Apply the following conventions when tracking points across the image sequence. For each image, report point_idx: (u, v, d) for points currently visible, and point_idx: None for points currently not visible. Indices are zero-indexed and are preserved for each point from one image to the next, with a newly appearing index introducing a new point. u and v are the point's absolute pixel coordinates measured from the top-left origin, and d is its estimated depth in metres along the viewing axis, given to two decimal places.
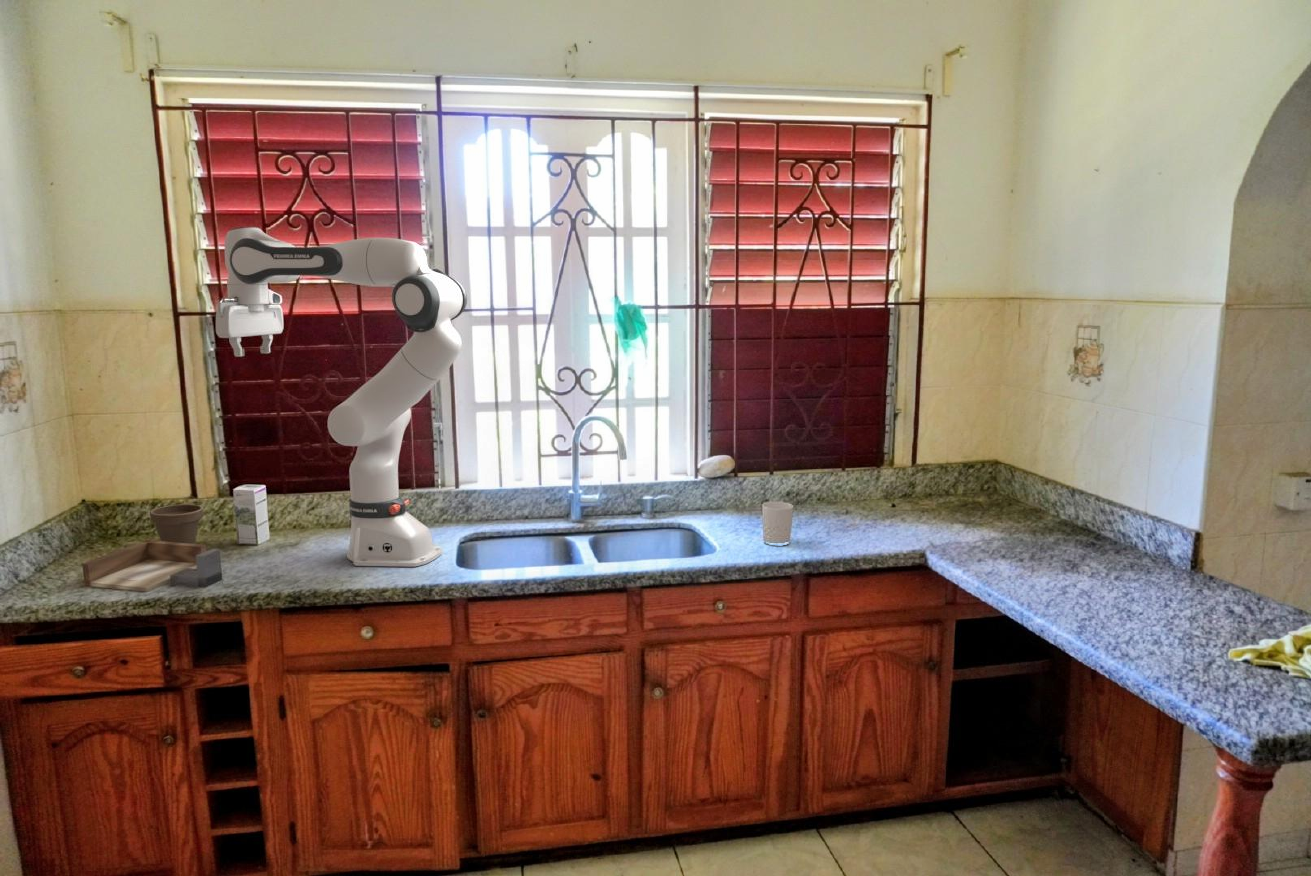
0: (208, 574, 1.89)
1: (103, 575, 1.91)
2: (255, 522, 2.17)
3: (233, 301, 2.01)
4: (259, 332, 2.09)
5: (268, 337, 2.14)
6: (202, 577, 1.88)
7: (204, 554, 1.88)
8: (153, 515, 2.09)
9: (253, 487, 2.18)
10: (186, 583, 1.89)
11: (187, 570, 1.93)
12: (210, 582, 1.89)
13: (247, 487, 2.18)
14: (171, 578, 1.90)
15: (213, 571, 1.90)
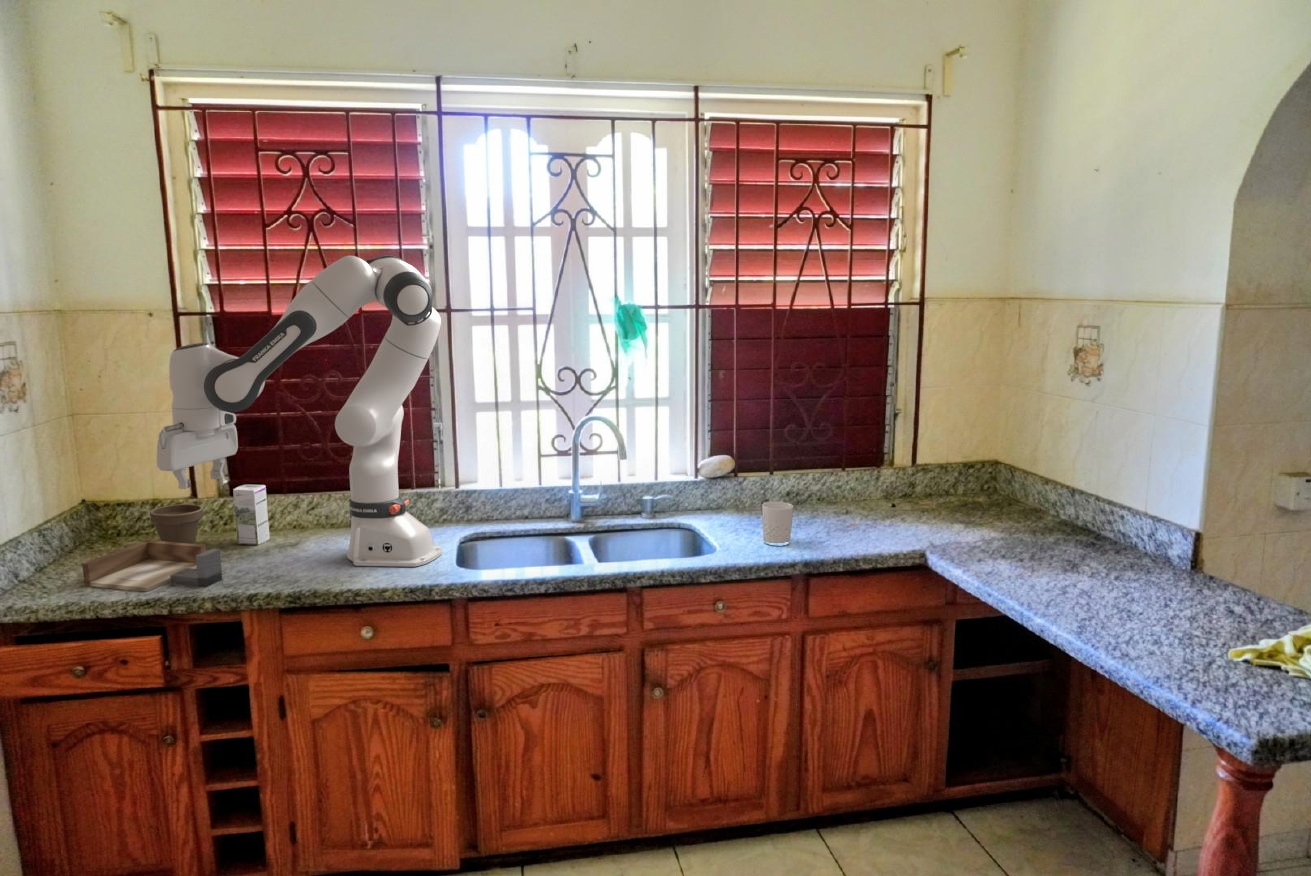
0: (208, 574, 1.89)
1: (103, 575, 1.91)
2: (255, 522, 2.17)
3: (177, 428, 1.79)
4: (208, 458, 1.86)
5: (219, 461, 1.91)
6: (202, 577, 1.88)
7: (204, 554, 1.88)
8: (153, 515, 2.09)
9: (253, 487, 2.18)
10: (186, 583, 1.89)
11: (187, 570, 1.93)
12: (210, 582, 1.89)
13: (247, 487, 2.18)
14: (171, 578, 1.90)
15: (213, 571, 1.90)
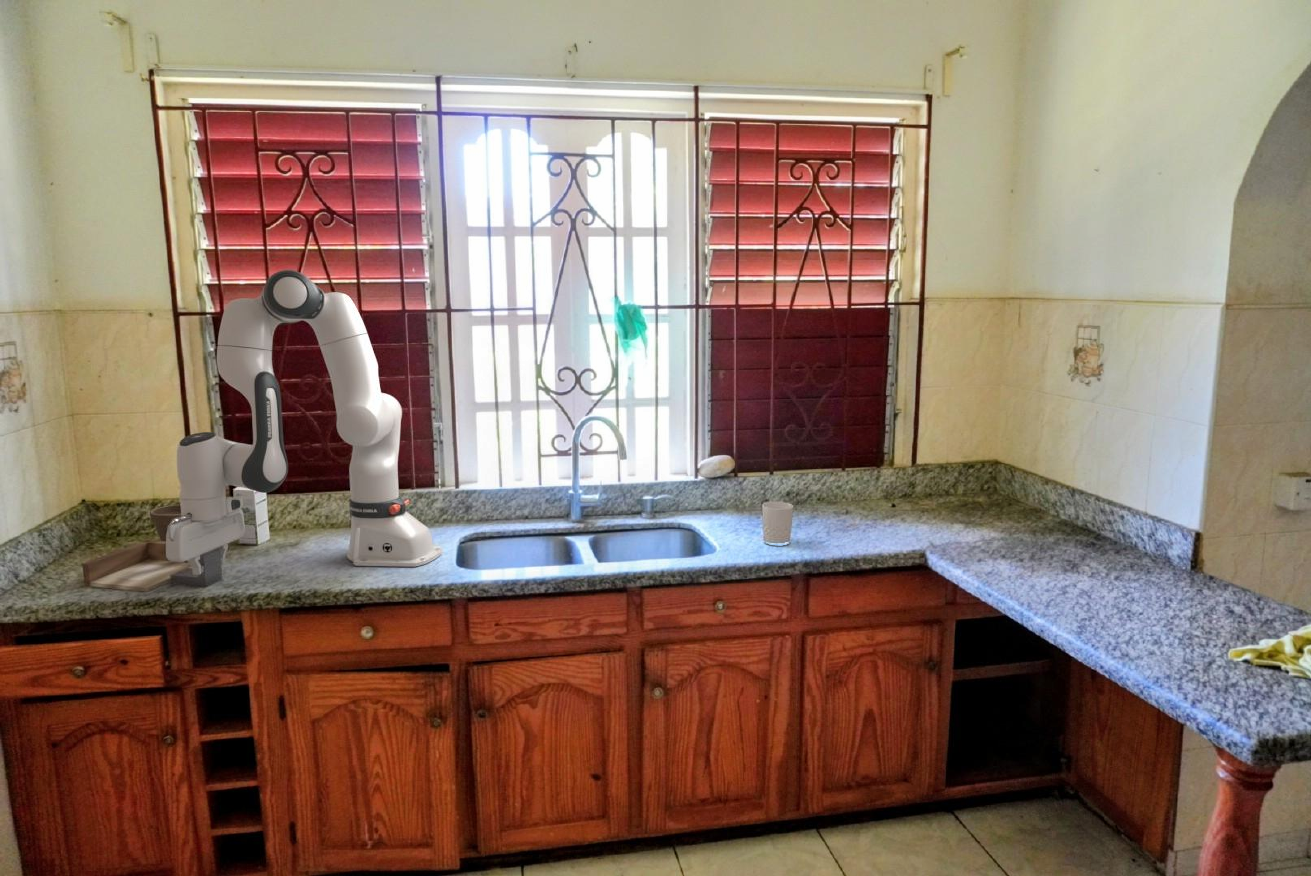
0: (208, 574, 1.89)
1: (103, 575, 1.91)
2: (255, 522, 2.17)
3: (186, 519, 1.82)
4: (216, 545, 1.90)
5: (222, 547, 1.93)
6: (202, 577, 1.88)
7: (204, 554, 1.88)
8: (153, 515, 2.09)
9: None
10: (186, 583, 1.89)
11: (187, 570, 1.93)
12: (210, 582, 1.89)
13: None
14: (171, 578, 1.90)
15: (213, 571, 1.90)
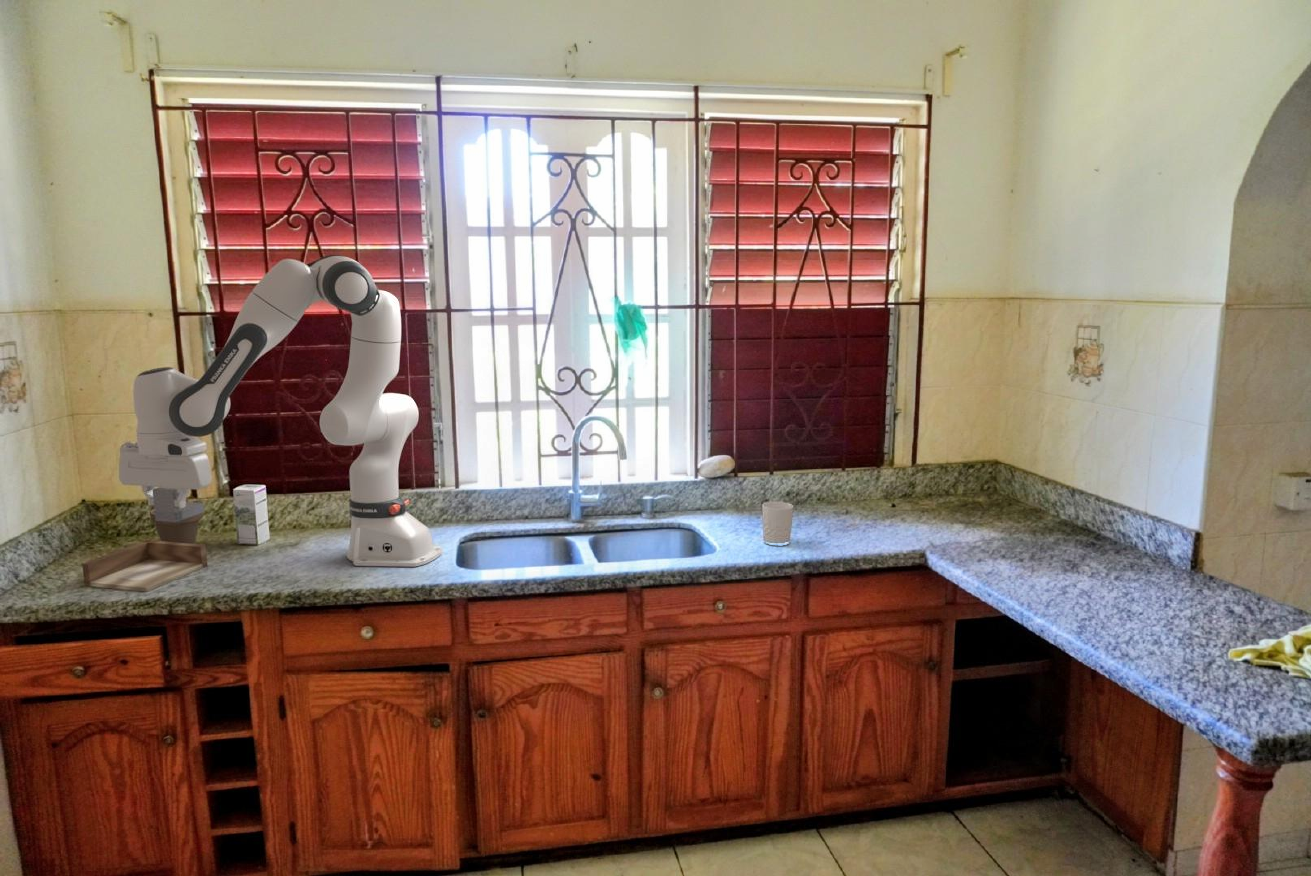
0: (158, 509, 1.87)
1: (103, 575, 1.91)
2: (255, 522, 2.17)
3: (136, 447, 1.86)
4: (161, 484, 1.85)
5: None
6: None
7: (159, 488, 1.87)
8: (153, 515, 2.09)
9: (253, 487, 2.18)
10: None
11: (193, 504, 1.94)
12: (160, 518, 1.87)
13: (247, 487, 2.18)
14: None
15: (164, 509, 1.87)
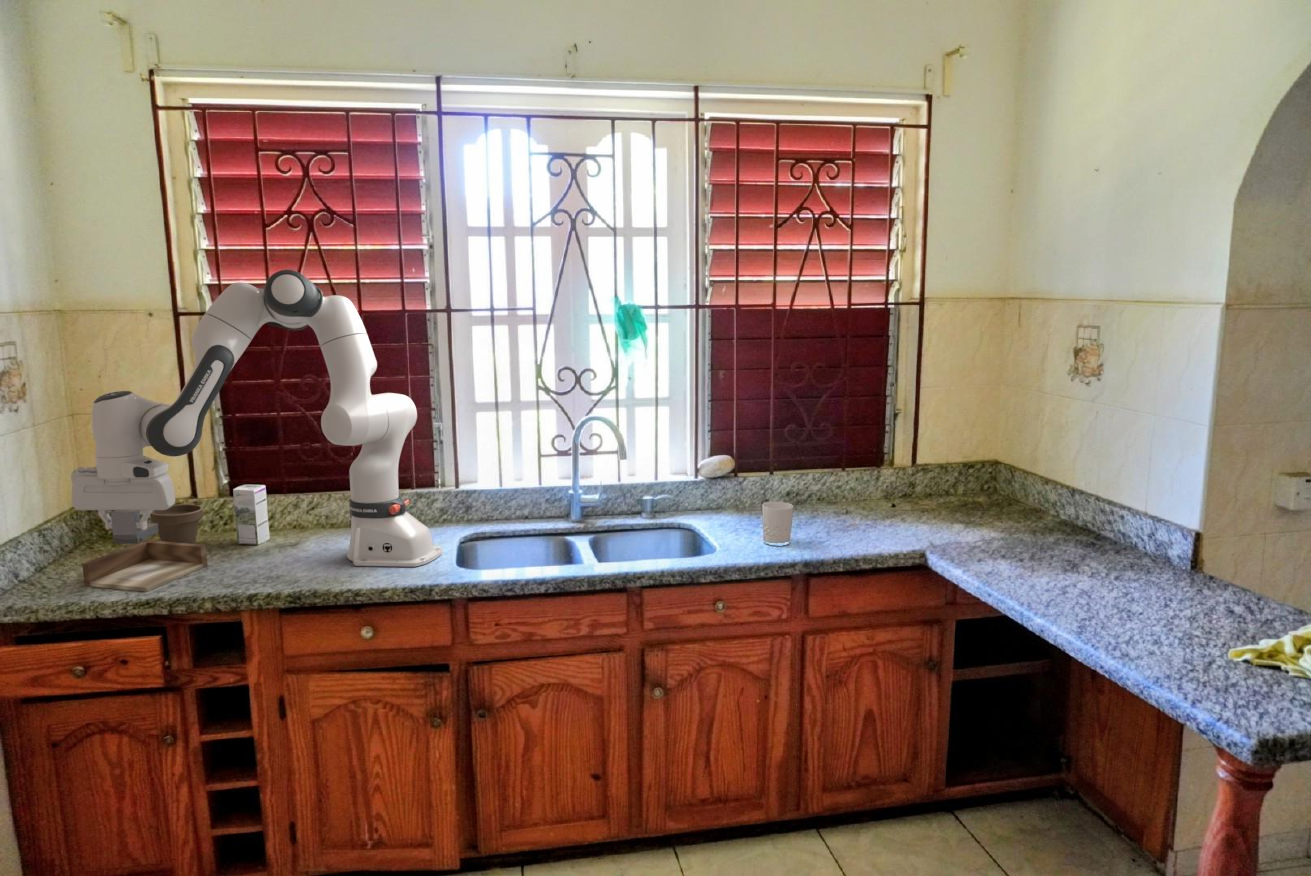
0: (117, 532, 1.88)
1: (103, 575, 1.91)
2: (255, 522, 2.17)
3: (91, 471, 1.86)
4: (123, 507, 1.87)
5: None
6: None
7: (118, 511, 1.88)
8: (153, 515, 2.09)
9: (253, 487, 2.18)
10: None
11: (147, 525, 1.96)
12: (120, 541, 1.89)
13: (247, 487, 2.18)
14: None
15: (124, 531, 1.88)
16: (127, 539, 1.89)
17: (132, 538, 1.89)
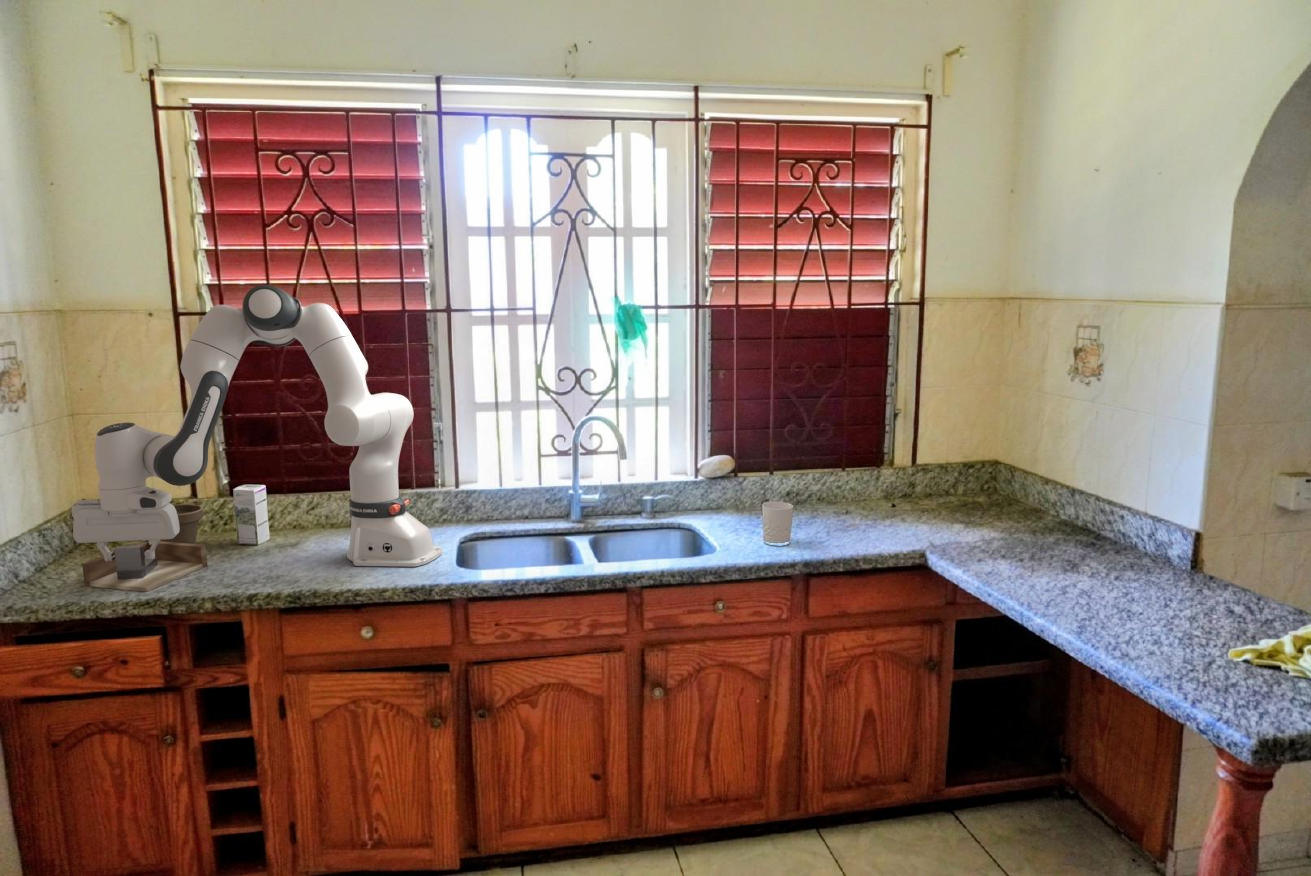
0: (121, 568, 1.89)
1: (103, 575, 1.91)
2: (255, 522, 2.17)
3: (93, 504, 1.86)
4: (127, 538, 1.88)
5: None
6: None
7: (121, 547, 1.89)
8: None
9: (253, 487, 2.18)
10: None
11: (147, 559, 1.97)
12: (124, 576, 1.90)
13: (247, 487, 2.18)
14: None
15: (129, 566, 1.89)
16: (132, 574, 1.90)
17: (137, 573, 1.90)
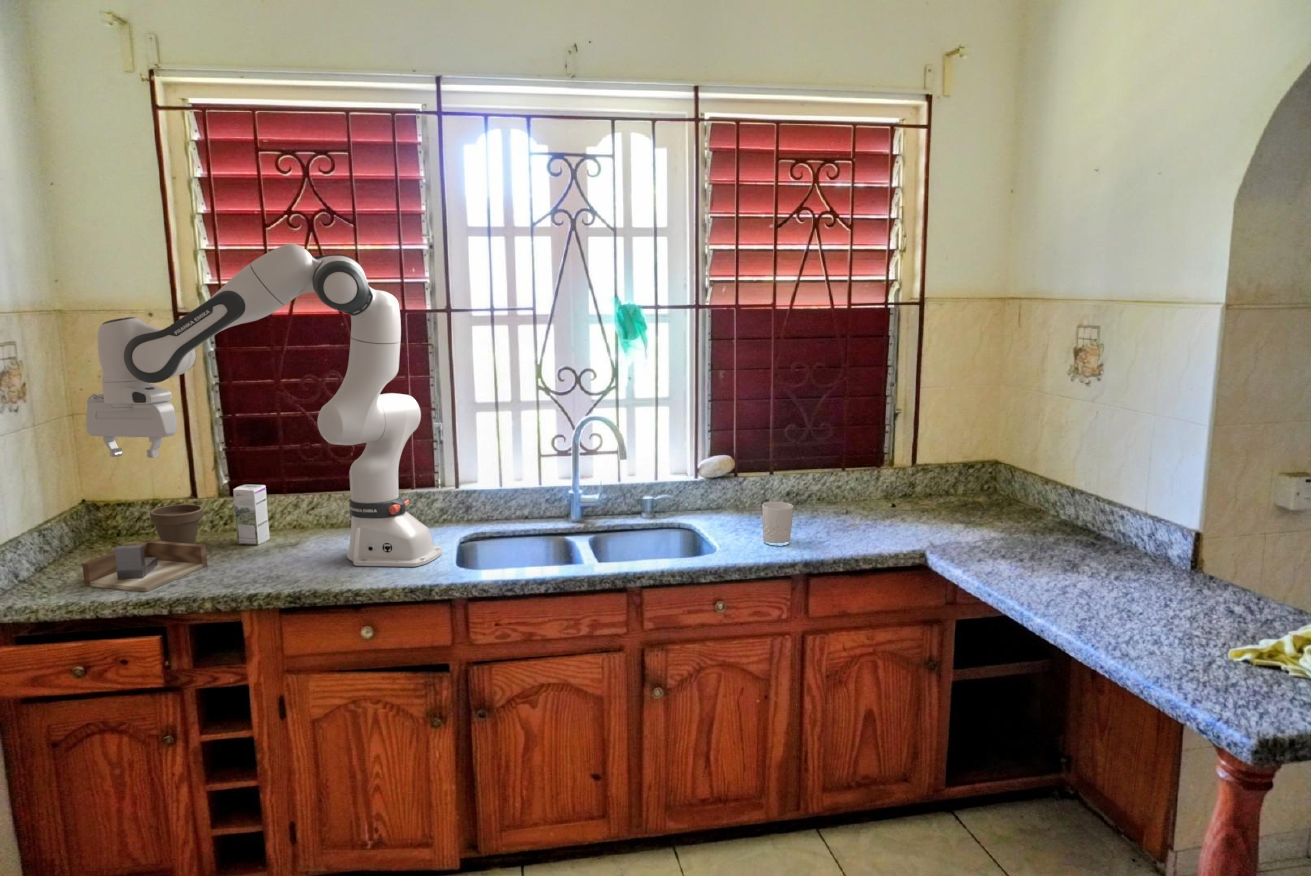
0: (121, 568, 1.89)
1: (103, 575, 1.91)
2: (255, 522, 2.17)
3: (103, 398, 1.88)
4: (127, 433, 1.86)
5: None
6: None
7: (121, 547, 1.89)
8: (153, 515, 2.09)
9: (253, 487, 2.18)
10: None
11: (147, 559, 1.97)
12: (124, 576, 1.90)
13: (247, 487, 2.18)
14: None
15: (129, 566, 1.89)
16: (132, 574, 1.90)
17: (137, 573, 1.90)
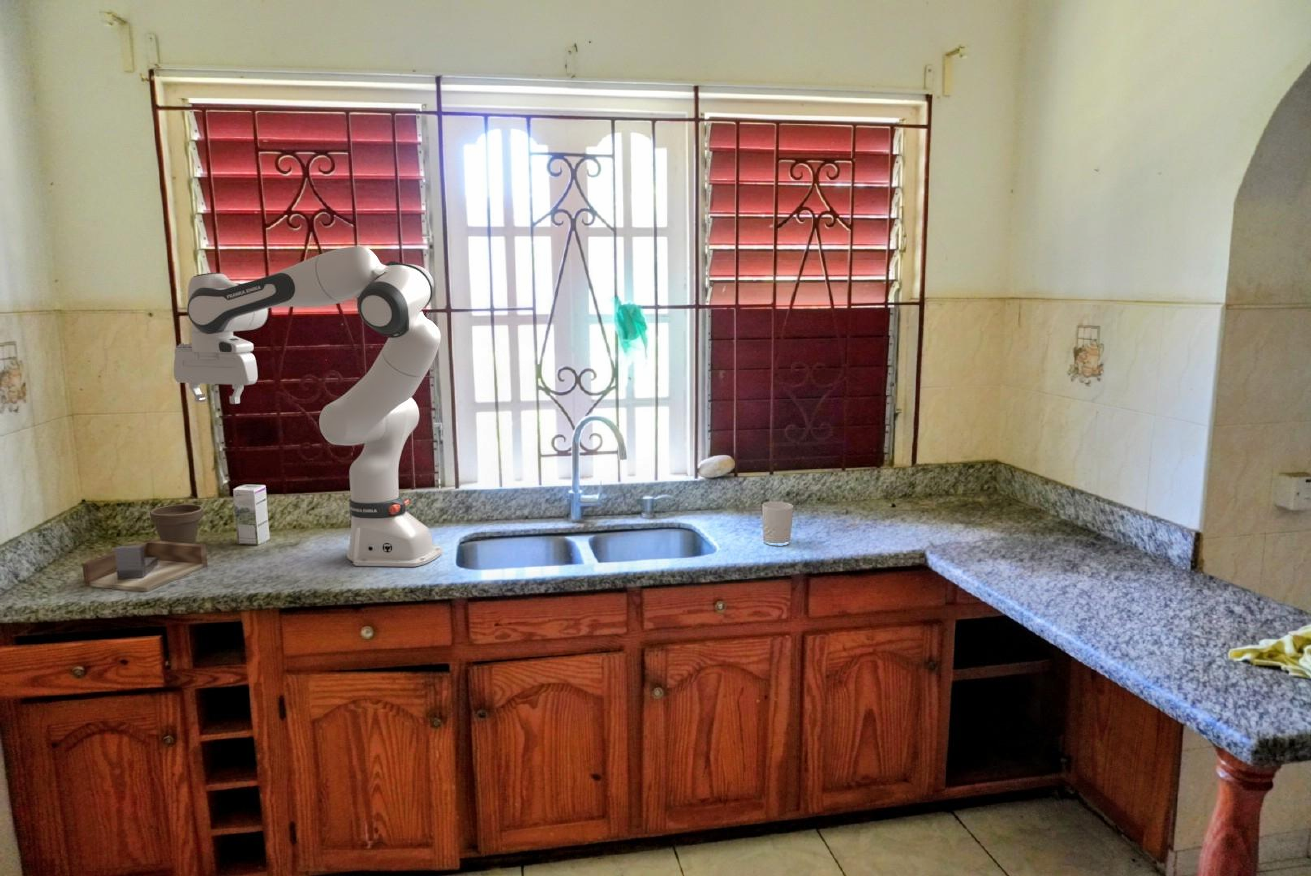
0: (121, 568, 1.89)
1: (103, 575, 1.91)
2: (255, 522, 2.17)
3: (190, 347, 2.03)
4: (212, 380, 2.02)
5: None
6: None
7: (121, 547, 1.89)
8: (153, 515, 2.09)
9: (253, 487, 2.18)
10: None
11: (147, 559, 1.97)
12: (124, 576, 1.90)
13: (247, 487, 2.18)
14: None
15: (129, 566, 1.89)
16: (132, 574, 1.90)
17: (137, 573, 1.90)
